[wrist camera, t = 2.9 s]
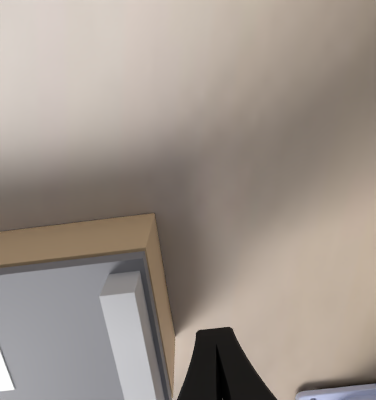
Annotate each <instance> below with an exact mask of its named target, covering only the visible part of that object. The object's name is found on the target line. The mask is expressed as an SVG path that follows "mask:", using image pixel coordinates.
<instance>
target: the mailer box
mask: <svg viewBox="0 0 376 400" xmlns="http://www.w3.org/2000/svg"><path fill="white" fill-rule="evenodd" d="M140 251H145V255H146V260H147V266H148V271H149V277H150V282H151V288H152V293H153V298H154V304H155V309H156V315H157V320H158V326H159V331H160V336H161V342H162V347H163V353H164V358H165V364H166V369H167V375H168V380H169V385H170V391H171V396H172V398H173V385H174V357H175V333H174V327H173V321H172V315H171V309H170V303H169V297H168V291H167V285H166V279H165V273H164V267H163V261H162V255H161V249H160V243H159V237H158V231H157V225H156V219H155V213H150V214H142V215H134V216H126V217H117V218H109V219H101V220H93V221H84V222H76V223H68V224H59V225H51V226H43V227H35V228H26V229H18V230H10V231H2V232H0V268H5V267H13V266H22V265H30V264H39V263H47V262H55V261H64V260H72V259H81V258H89V257H98V256H106V255H115V254H123V253H132V252H140Z"/></svg>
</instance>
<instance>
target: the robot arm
mask: <svg viewBox="0 0 376 400" xmlns="http://www.w3.org/2000/svg"><path fill="white" fill-rule="evenodd" d="M222 398H223V400H277V399H276V398H275V396H274V395H273V394H272V393H271V391H270V390H269V389H268V387H267V386H266V385H265V383H264V382H263V381H262V379H261V378H260V376H259V375H258V374H257V372H256V371H255V369H254V368H253V366H252V365H251V363H250V361H249V360H248V358H247V357H246V355H245V353H244V352H243V350H242V348H241V346H240V344H239V343H238V341H237V339H236V336H235V334H234V332H233V329H232V328H230V327H224V328H215V329H206V330H199V331H198V332H197V333H196V340H195V346H194V351H193V355H192V359H191V362H190V365H189V368H188V372H187V375H186V378H185V381H184V383H183V386H182V388H181V391H180V394H179V396H178V399H177V400H222ZM295 400H376V383H375V384H366V385H356V386H347V387H337V388H328V389H318V390H309V391H301V392H299V393H298V394H297V395H296V397H295Z"/></svg>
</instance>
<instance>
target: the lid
mask: <svg viewBox="0 0 376 400" xmlns="http://www.w3.org/2000/svg"><path fill="white" fill-rule="evenodd" d="M0 400H172V396H171V391H170V385H169V380H168V375H167V369H166V364H165V358H164V353H163V347H162V342H161V336H160V331H159V326H158V320H157V315H156V309H155V304H154V298H153V293H152V288H151V282H150V277H149V271H148V266H147V260H146V255H145V251H140V252H132V253H123V254H115V255H106V256H98V257H89V258H81V259H72V260H64V261H55V262H47V263H39V264H30V265H22V266H13V267H5V268H0Z"/></svg>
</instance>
